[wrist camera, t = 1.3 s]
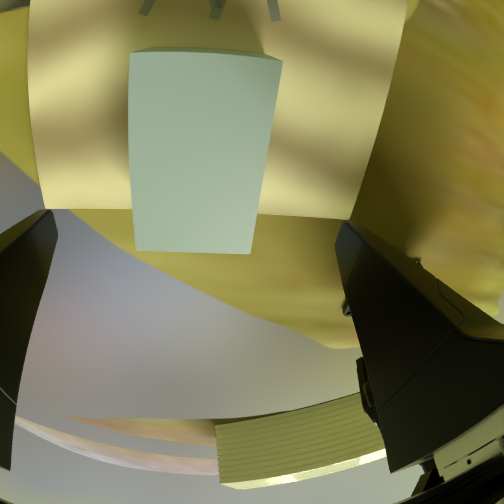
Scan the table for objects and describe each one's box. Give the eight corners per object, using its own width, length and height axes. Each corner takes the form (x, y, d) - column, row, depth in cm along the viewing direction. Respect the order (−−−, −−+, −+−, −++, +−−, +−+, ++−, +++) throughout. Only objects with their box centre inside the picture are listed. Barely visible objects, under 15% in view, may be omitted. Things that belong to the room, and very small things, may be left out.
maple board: (341, 208, 22) (349, 220, 20) (54, 196, 18) (45, 208, 17) (406, -83, 8) (419, -87, 7) (68, -112, 4) (59, -119, 3)
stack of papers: (234, 439, 53) (239, 489, 45) (214, 424, 46) (220, 484, 38) (396, 397, 51) (413, 446, 42) (405, 375, 44) (427, 432, 36)
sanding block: (241, 205, 19) (250, 254, 15) (149, 202, 18) (136, 250, 14) (264, 53, 13) (283, 61, 10) (152, 47, 12) (130, 52, 9)
